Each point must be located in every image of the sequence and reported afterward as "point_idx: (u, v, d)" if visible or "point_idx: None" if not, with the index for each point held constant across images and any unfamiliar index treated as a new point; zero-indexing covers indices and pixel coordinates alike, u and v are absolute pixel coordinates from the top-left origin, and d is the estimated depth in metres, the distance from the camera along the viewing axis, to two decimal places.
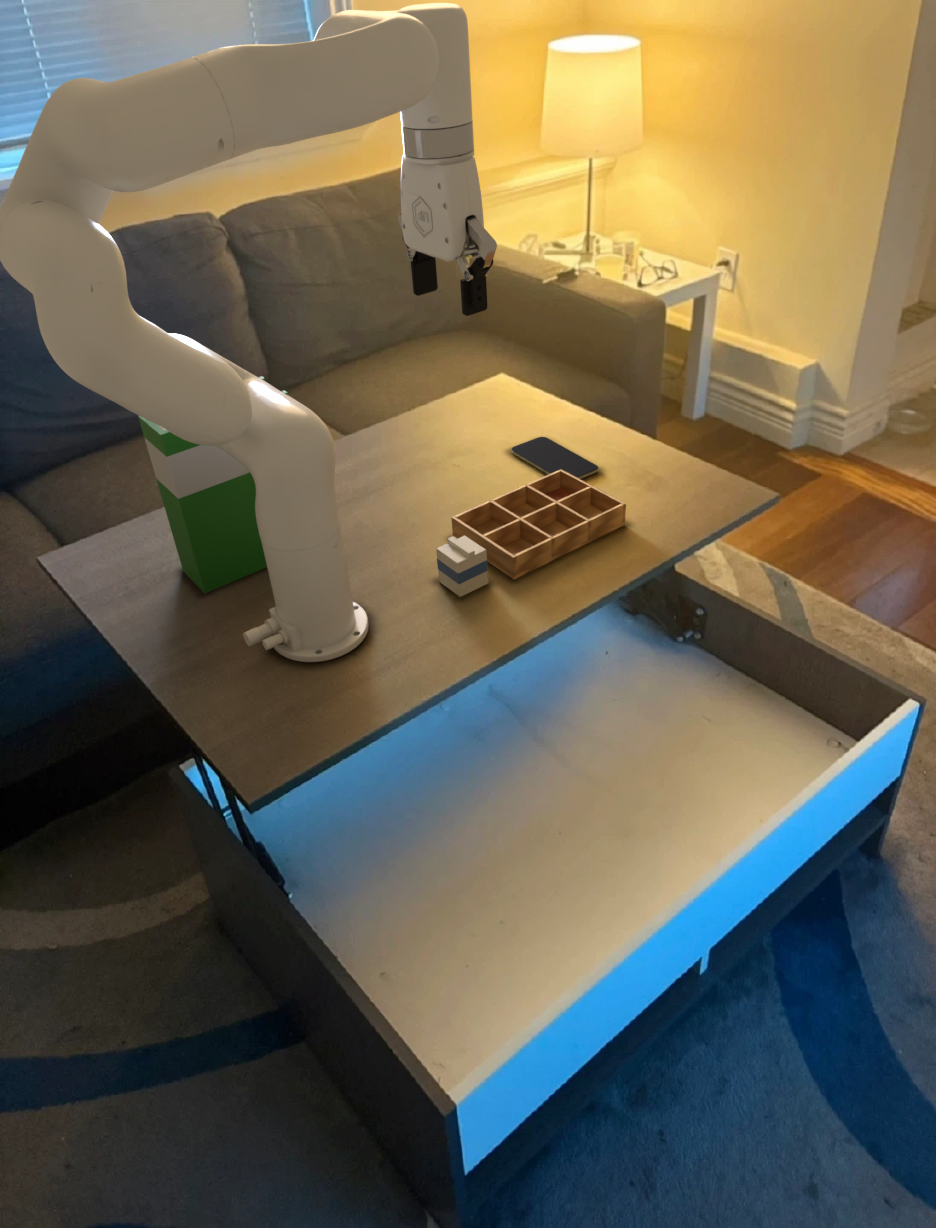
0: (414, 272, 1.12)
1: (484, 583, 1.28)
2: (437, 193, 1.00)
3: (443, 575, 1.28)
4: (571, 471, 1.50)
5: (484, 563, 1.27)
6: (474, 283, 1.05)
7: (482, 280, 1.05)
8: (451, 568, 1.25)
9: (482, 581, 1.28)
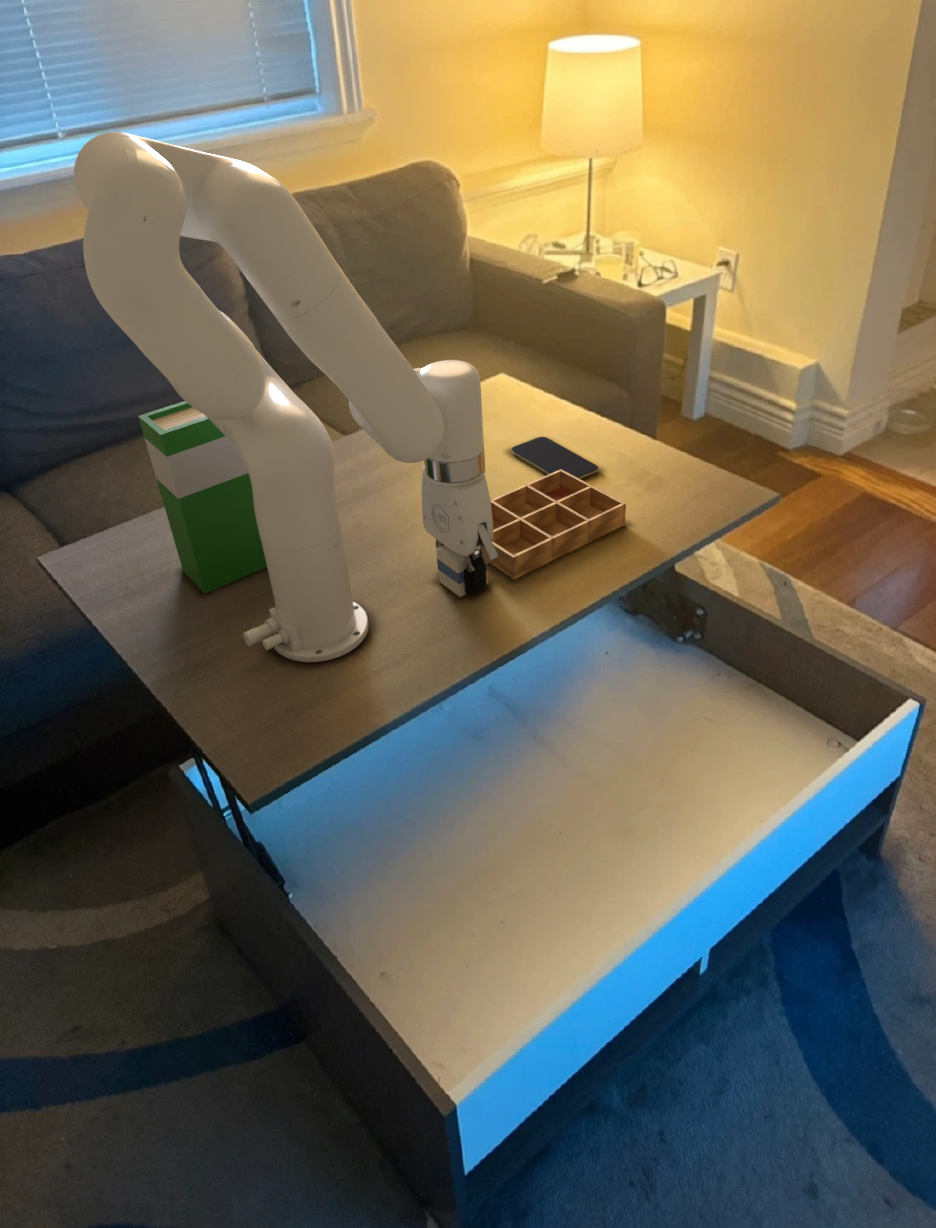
0: None
1: None
2: (453, 507, 1.18)
3: (443, 575, 1.28)
4: (571, 471, 1.50)
5: None
6: (475, 573, 1.24)
7: (482, 569, 1.25)
8: (451, 568, 1.25)
9: None
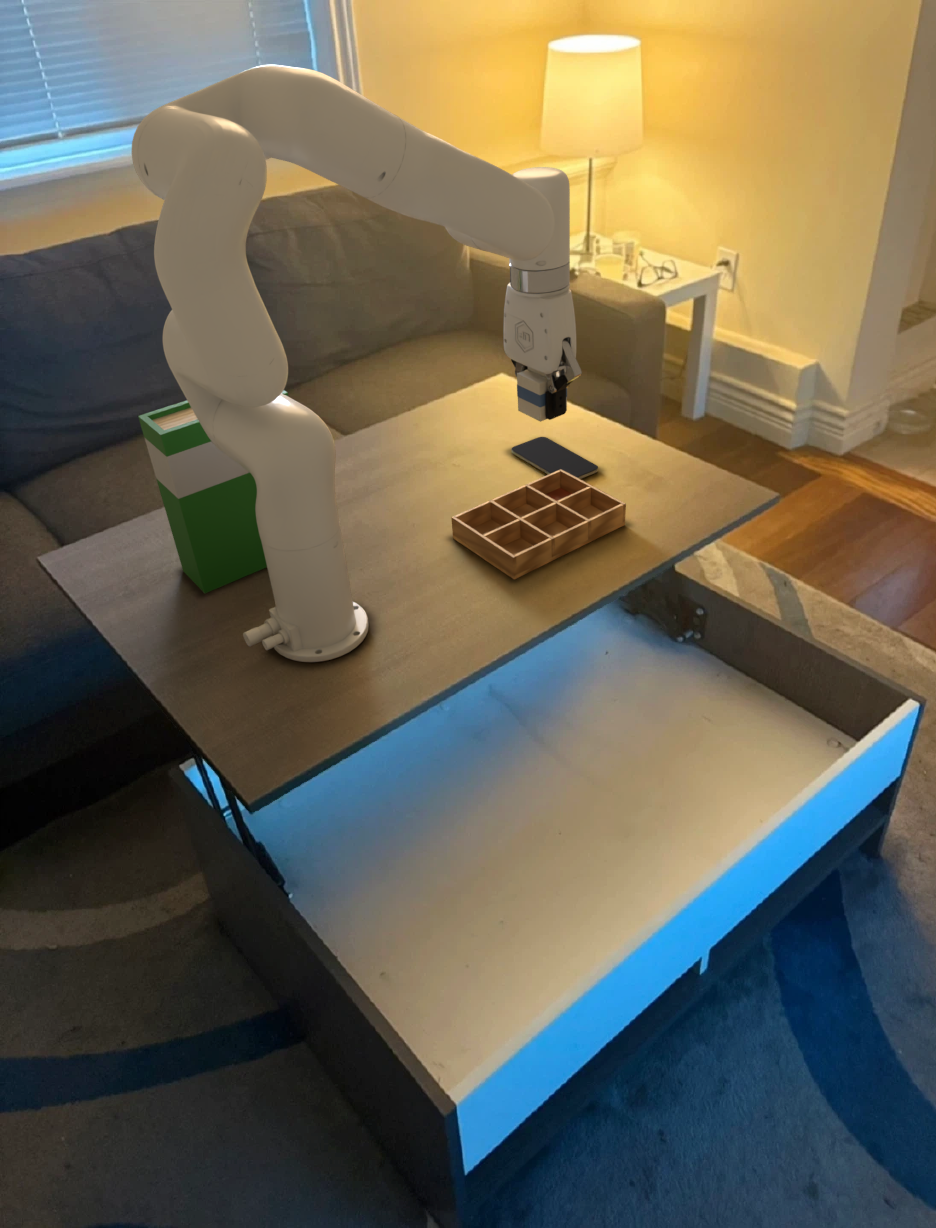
0: None
1: None
2: (539, 320, 1.19)
3: (523, 402, 1.29)
4: (571, 471, 1.50)
5: None
6: (557, 394, 1.26)
7: (563, 391, 1.26)
8: (532, 391, 1.27)
9: None
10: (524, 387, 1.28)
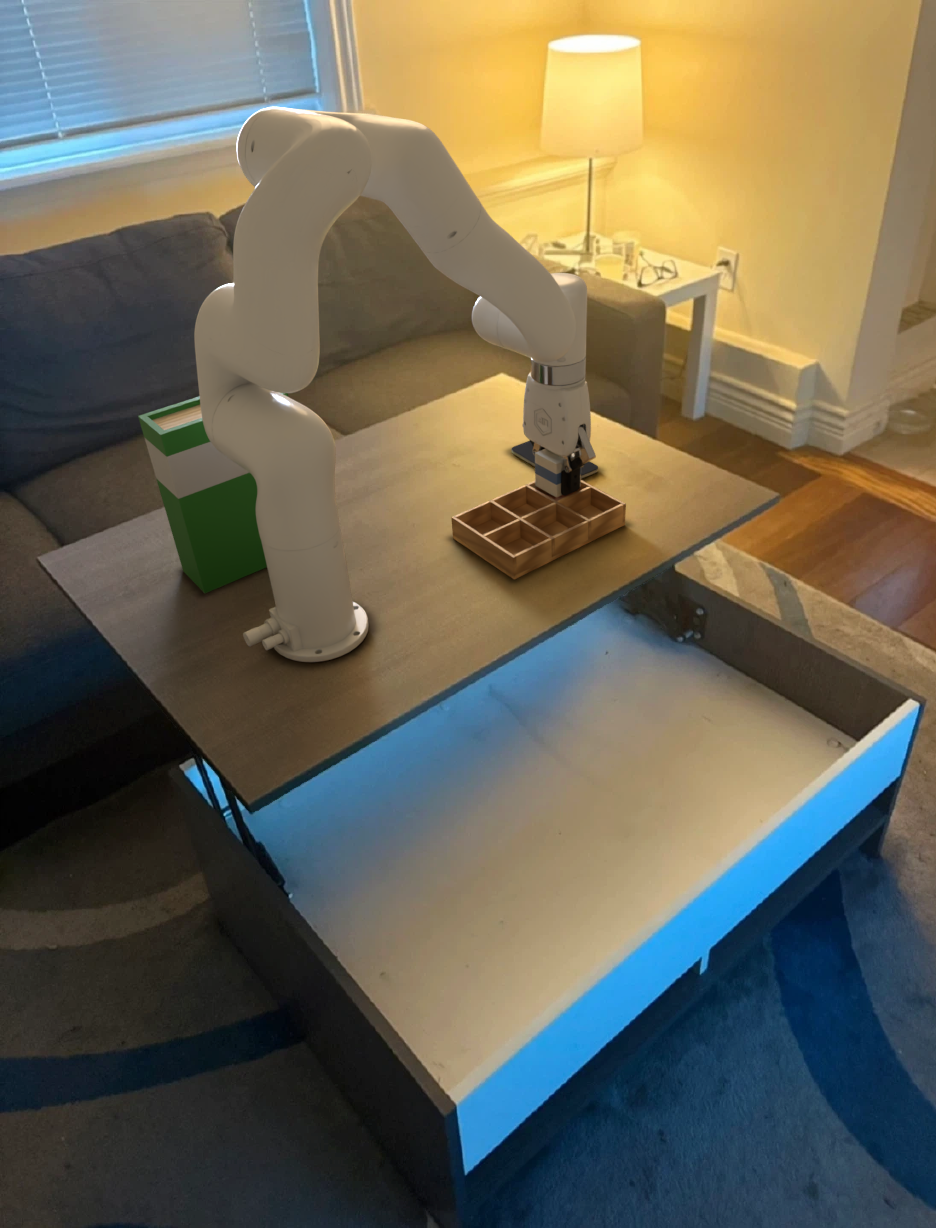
0: None
1: None
2: (557, 409, 1.30)
3: (540, 478, 1.40)
4: None
5: None
6: (572, 474, 1.37)
7: (578, 471, 1.37)
8: (549, 470, 1.38)
9: None
10: (542, 465, 1.39)
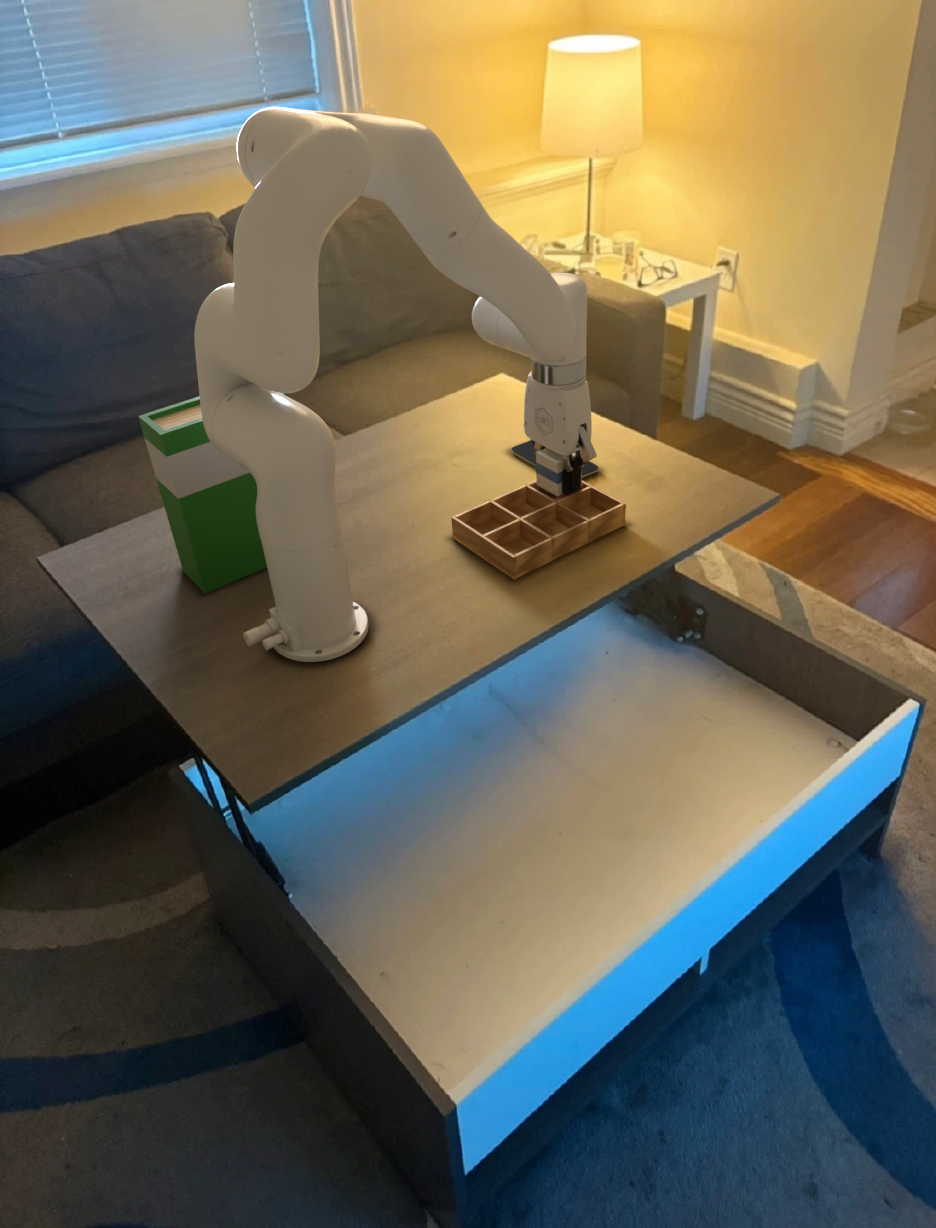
0: None
1: None
2: (558, 409, 1.30)
3: (541, 477, 1.40)
4: None
5: None
6: (573, 473, 1.37)
7: (579, 470, 1.37)
8: (550, 469, 1.38)
9: None
10: (543, 465, 1.39)
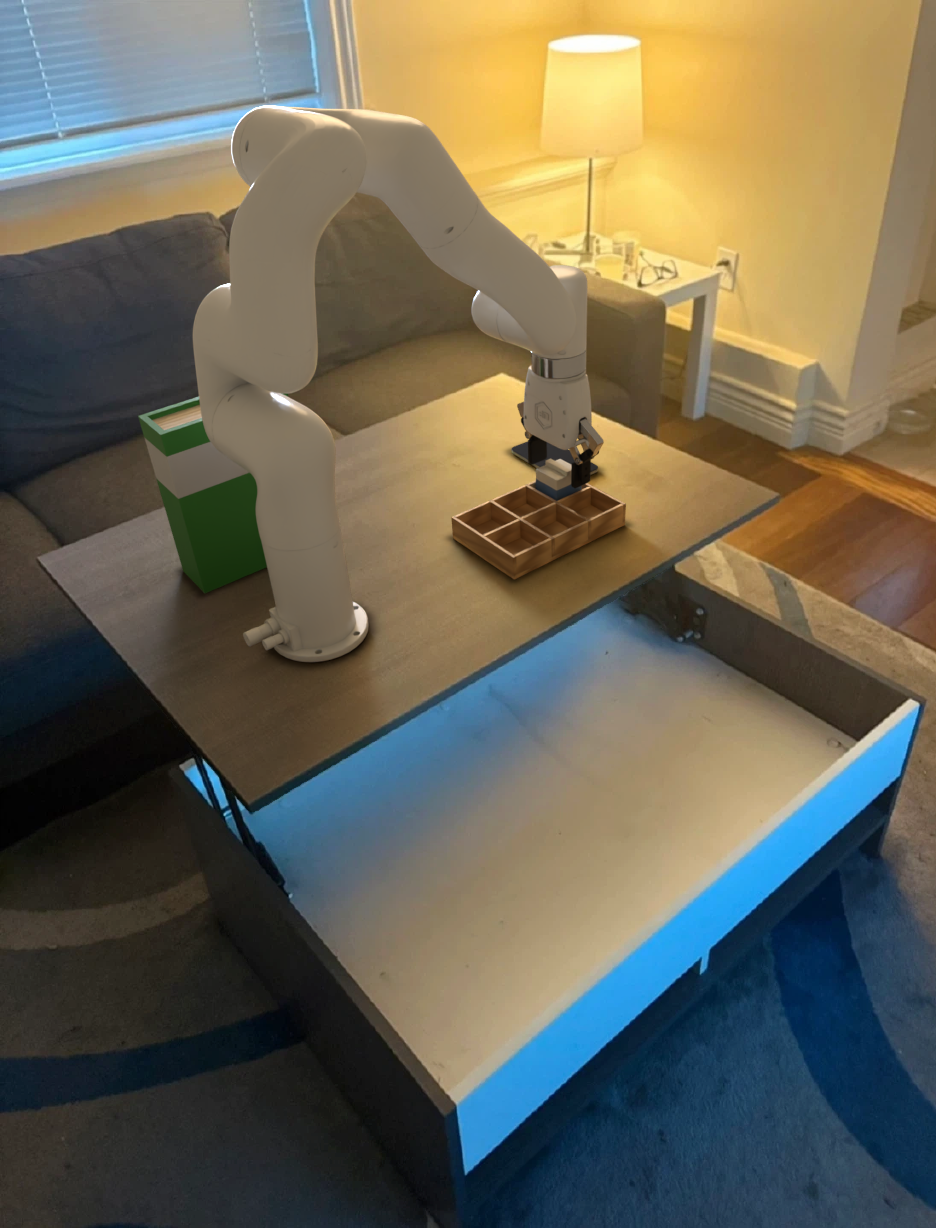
0: (530, 448, 1.41)
1: None
2: (558, 402, 1.29)
3: None
4: None
5: None
6: (582, 466, 1.34)
7: (588, 463, 1.35)
8: (550, 486, 1.39)
9: None
10: (542, 482, 1.40)
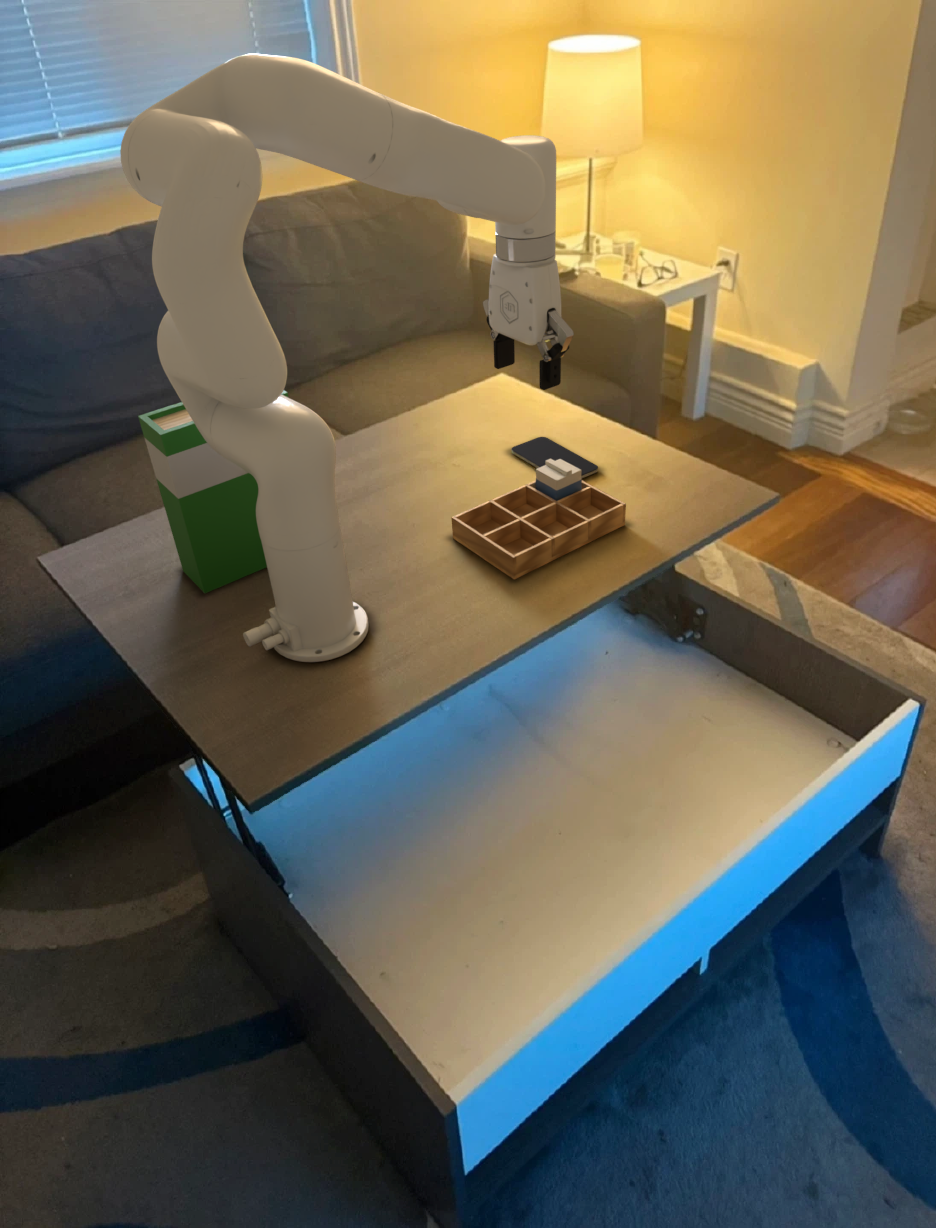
0: (496, 350, 1.30)
1: None
2: (524, 290, 1.19)
3: None
4: None
5: (579, 482, 1.41)
6: (551, 363, 1.23)
7: (558, 361, 1.24)
8: (550, 486, 1.39)
9: None
10: (542, 482, 1.40)
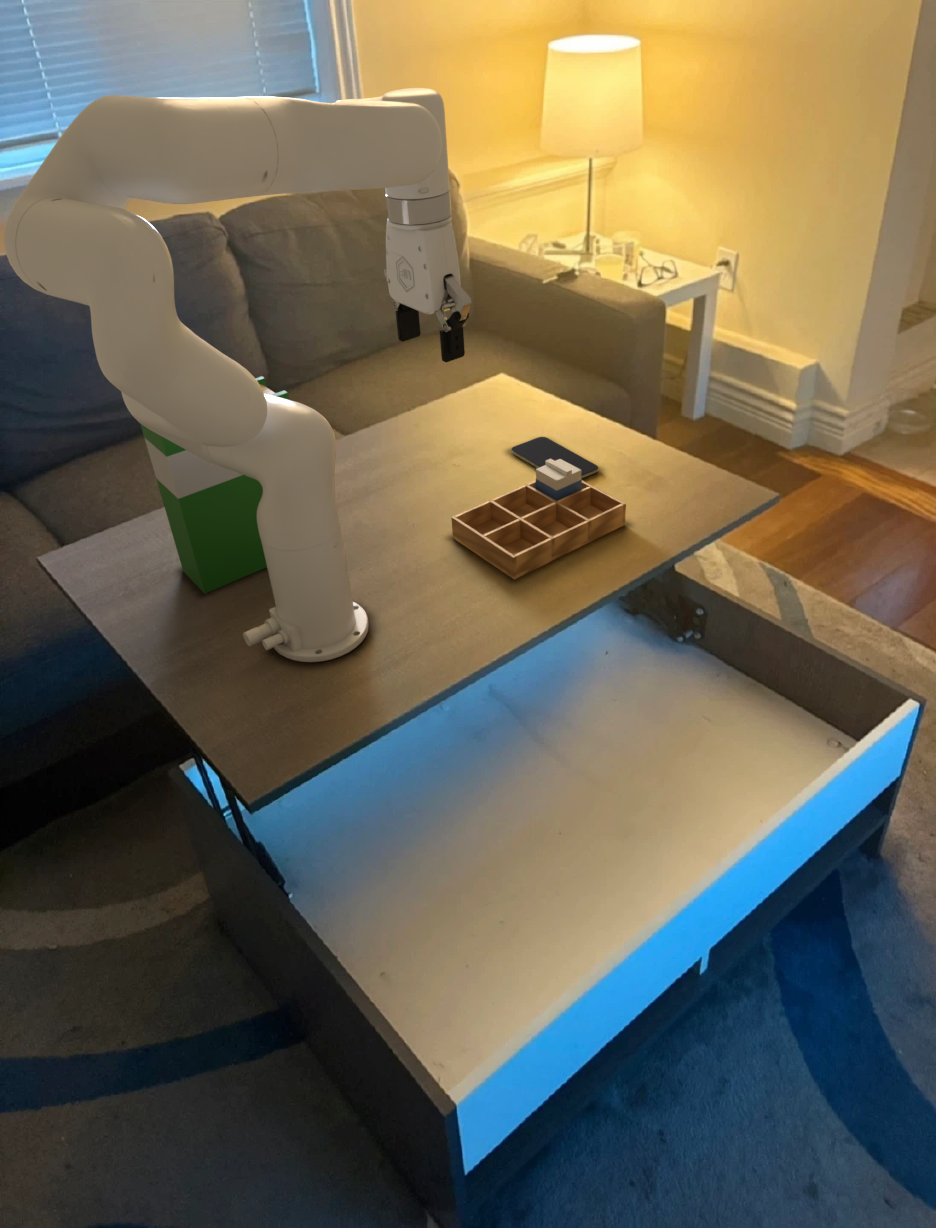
0: (399, 321, 1.23)
1: None
2: (418, 255, 1.11)
3: None
4: None
5: (579, 482, 1.41)
6: (452, 333, 1.16)
7: (459, 331, 1.17)
8: (550, 486, 1.39)
9: None
10: (542, 482, 1.40)
